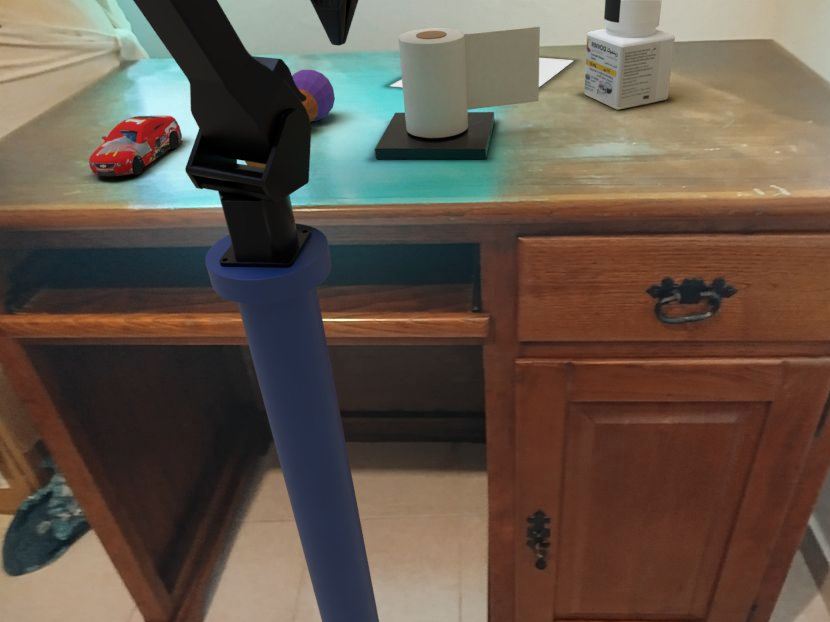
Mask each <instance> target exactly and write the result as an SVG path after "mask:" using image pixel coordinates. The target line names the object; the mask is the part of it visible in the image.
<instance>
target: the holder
mask: <svg viewBox="0 0 830 622" xmlns="http://www.w3.org/2000/svg"><path fill="white" fill-rule="evenodd" d="M392 116H393V117H391V119H390V121H389V122H388V124H387V127H386V128H385V130H384V132H383V133H382V135H381V137H380V139H379V140H378V142H377V144H376V146H374V147H375V148H374V155H375V159H376V160H486V159H487V156H488V152H489V147H490V143H491V142H490V141H491V138H492V133H493V129H494V124H495V112H494V111H468V128H467V129H466V130H465V131H464V132H462V133H460V134H457V135H454V136H449V137H443V138H423V137H417V136H414V135H411V134H410V133H408V132H407V130H406V120H405V112H395V113H394V114H393V115H392Z"/></svg>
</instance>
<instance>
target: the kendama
mask: <svg viewBox="0 0 830 622" xmlns="http://www.w3.org/2000/svg"><path fill="white" fill-rule="evenodd" d="M292 77H293V80H294V82H295V84H296V86H297V87H298V89H299V90H300V92H301V93H303V94H304V95H305V96H306V101H303V102H302V103H303V104H304V106H305V108H306V111H307V113H308V116H309V119H310V123H312V122H318V121H320V120H322V119H325V118H326V117H327V116H328V114H329V113H330V112H331V111H332V109H333V108H334V105H335V100H336V98H335V97H336V96H335V91H334V87H333V85H332V83H331V81H330V80H329V78H328V77H326V76H325V74H324V73H322V72H320V71H317V70H314V69H301V70H298V71H296V72H294V73H293V74H292ZM244 162H245V165H249V166H255V167H261V168H265V167H266V164H261V163H255V162H248V161H244Z"/></svg>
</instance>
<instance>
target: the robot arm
mask: <svg viewBox="0 0 830 622" xmlns="http://www.w3.org/2000/svg"><path fill="white" fill-rule="evenodd" d="M132 1H133V3H134V4H135V5H136V7H137V8H138V10H139V11H140V13H141V15H142V16H143V17H144V18H145V20H146V21H147V22H148V24H149V26H150V27H151V28H152V30H153V31H154V33H155V34H156V35H157V37H158V38H159V40H160V41H161V43H162V44H163V45H164V47H165V48H166V50H167V51H168V53H169V54H170V56H171V57H172V58H173V60H174V61H175V63H176V64H177V66H178V67H179V68H180V70H181V71H182V73H183V74H184V76H185V77H186V79H187V81H188V83H189V97H190V98H189V100H190V101H189V104H190V113H191V115H192V117H193V119H194V122H195V124H196V126H197V127H198V131H197V133H196V137H195V139H194V142H193V145H192V148H191V151H190V154H189V156H188V159H187V162H186V164H185V167H184V168H185V169H184V170H185V173H186V175H187V176H188V178H189V179H190V181H191V182H192V185H194V187H195V189H199V190H203V189H204V190H210V191H215V192H218V196H219V200H220V204H221V209H222V213H223V216H224V220H225V224H226V227H227V228H226V229H227V232H228V235H229V236H230V240H231V243H232V244H231V246H230V247H229V248H228V250H227V251H226V252H225V253H224V255H223V256H222V257H221V259H220V260H219V262H220V265H221V266H222V267H263V268H289V267H292V266H293V265H294V263H295V261H296V260H297V258H298V256H299V255H300V253H301V251H302V250H303V248H304V246H305V245H306V243H307V241H308V240H309V238H310V237H311V231H310V230H309V229H296V225H295V223H296V221H295V220H296V219H295V215H294V210H293V205H292V201H291V195H292V194H293V193H294V192H296V191H298V190H299V189H301V188H302V187H304V186H306V185H307V184H308V183H309V181H310V165H311V145H312V144H311V143H312V126H311V122H310V119H309V116H308V113H307V111H306V108H305V106H304V104H303V103H302V102H303V101H306V96H305V95H304V94H303V93H301V92H300V90H299V89H298V87H297V86H296V84H295V82H294V80H293V77H292V75H293V74H292V72H291V69H290V67H289V66H288V65H287V63H286V62H285V61H284V60H283V59H281V58H275V57H266V56H256V55H255V56H254V55H252V54H250V52H249V51H248V50H247V48H246V47H245V45H244V43H243V41H242V40H241V39H240V36H239V35H238V33H237V31H236V30H235V28H234V27H233V24H232V22H231V21H230V19H229V17H228V16H227V14H226V12H225V11H224V9H223V7H222V6H221V4H220V2H219V0H132ZM309 1H310V3H311V5H312V7H313V9H314V12H315V13H316V15H317V17H318V19H319V21H320V23H321V26H322V27H323V30H324V32H325V34H326V36H327V38H328V40H329V42H330V44H331V45H333V46H343V45H344V44H346V42H347V40H348V37H349V33H350V29H351V26H352V23H353V19H354V16H355V13H356V10H357V6H358V3H359V0H309ZM238 161H242V162H245V161H248V162H255V163H261V164H266V167H265V168H261V167H255V166H249V165H247V164H242V163H238Z"/></svg>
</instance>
